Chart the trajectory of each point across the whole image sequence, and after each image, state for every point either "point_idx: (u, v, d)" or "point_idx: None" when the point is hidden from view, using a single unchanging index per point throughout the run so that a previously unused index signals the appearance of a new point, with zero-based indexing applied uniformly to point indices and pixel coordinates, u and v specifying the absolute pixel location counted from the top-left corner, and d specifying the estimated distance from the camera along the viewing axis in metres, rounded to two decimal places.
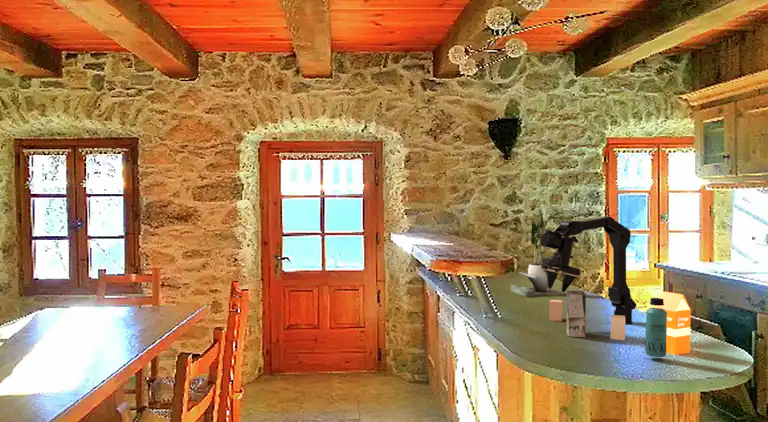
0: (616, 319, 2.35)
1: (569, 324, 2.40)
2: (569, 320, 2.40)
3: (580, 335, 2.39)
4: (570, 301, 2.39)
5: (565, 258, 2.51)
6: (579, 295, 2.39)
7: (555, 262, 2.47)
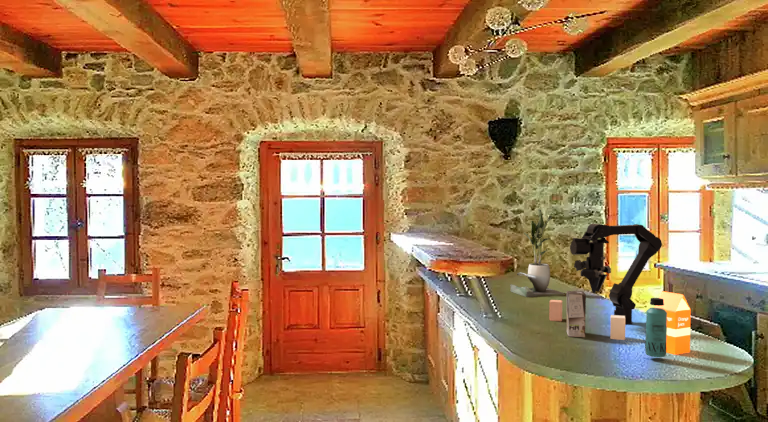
0: (616, 319, 2.35)
1: (569, 324, 2.40)
2: (569, 320, 2.40)
3: (580, 335, 2.39)
4: (570, 301, 2.39)
5: (592, 260, 2.60)
6: (579, 295, 2.39)
7: (578, 266, 2.63)
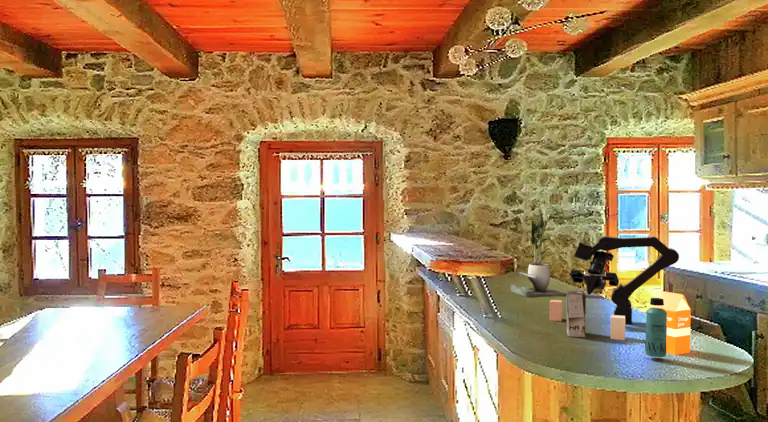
0: (616, 319, 2.35)
1: (569, 324, 2.40)
2: (569, 320, 2.40)
3: (580, 335, 2.39)
4: (570, 301, 2.39)
5: None
6: (579, 295, 2.39)
7: None
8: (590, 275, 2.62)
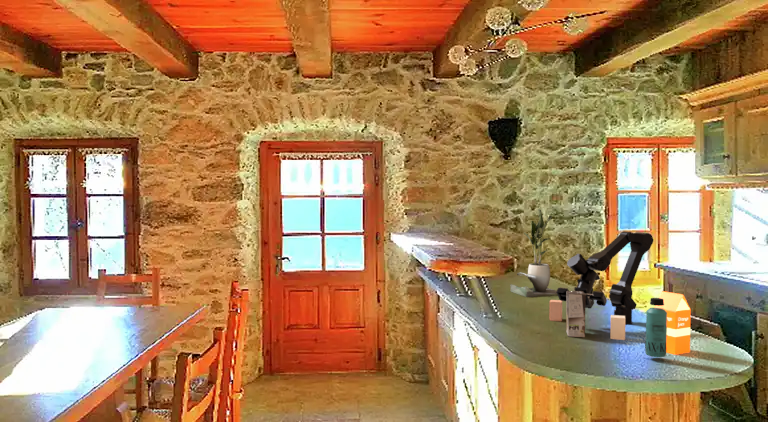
0: (616, 319, 2.35)
1: (569, 324, 2.39)
2: (569, 320, 2.39)
3: (580, 335, 2.39)
4: (570, 301, 2.39)
5: None
6: (579, 295, 2.38)
7: None
8: None
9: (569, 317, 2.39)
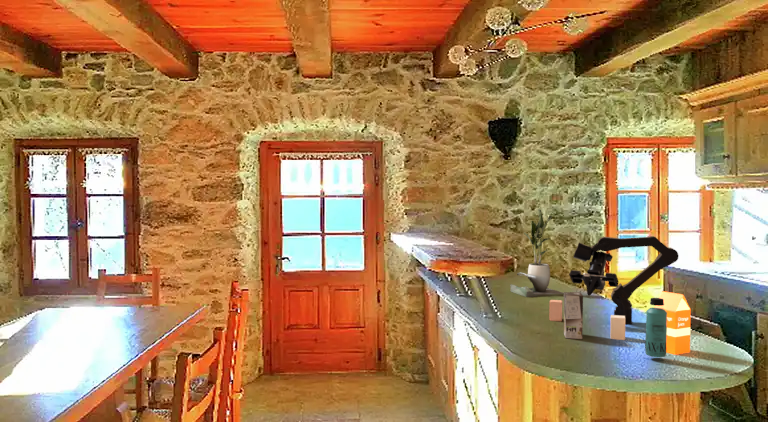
0: (616, 319, 2.35)
1: (566, 326, 2.37)
2: (566, 322, 2.37)
3: (577, 337, 2.36)
4: (567, 302, 2.37)
5: None
6: (576, 296, 2.36)
7: None
8: (590, 276, 2.62)
9: (566, 319, 2.37)
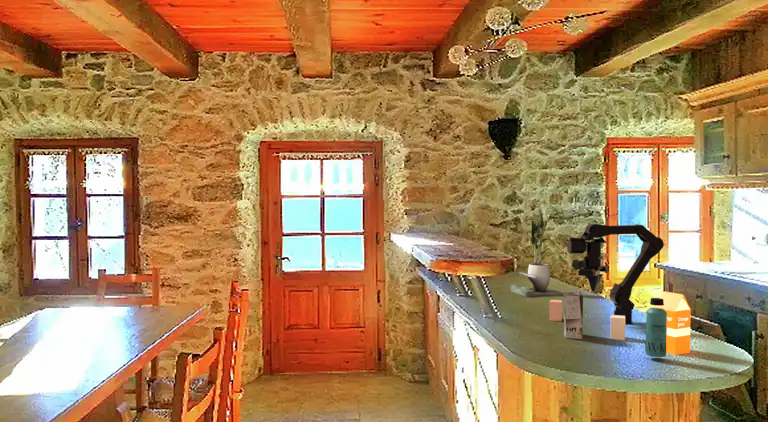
0: (616, 319, 2.35)
1: (566, 326, 2.37)
2: (566, 322, 2.37)
3: (577, 337, 2.36)
4: (567, 302, 2.37)
5: (589, 260, 2.63)
6: (576, 296, 2.36)
7: (576, 265, 2.65)
8: (595, 271, 2.63)
9: (566, 319, 2.37)
